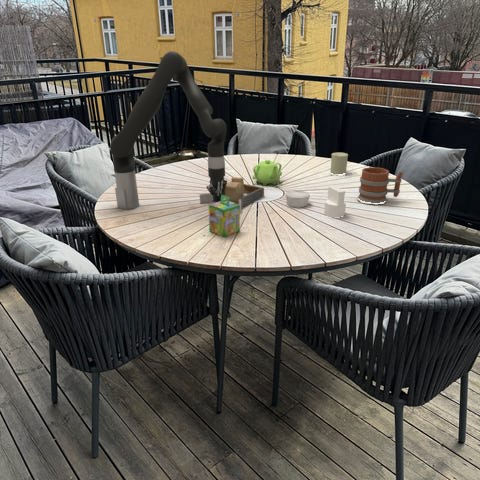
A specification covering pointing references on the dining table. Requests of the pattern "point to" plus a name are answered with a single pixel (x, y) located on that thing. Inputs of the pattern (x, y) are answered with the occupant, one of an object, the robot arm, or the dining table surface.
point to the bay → (252, 195)
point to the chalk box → (224, 217)
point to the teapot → (267, 172)
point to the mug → (377, 185)
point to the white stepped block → (335, 202)
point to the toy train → (235, 189)
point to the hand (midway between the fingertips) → (217, 202)
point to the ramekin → (297, 198)
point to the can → (339, 163)
